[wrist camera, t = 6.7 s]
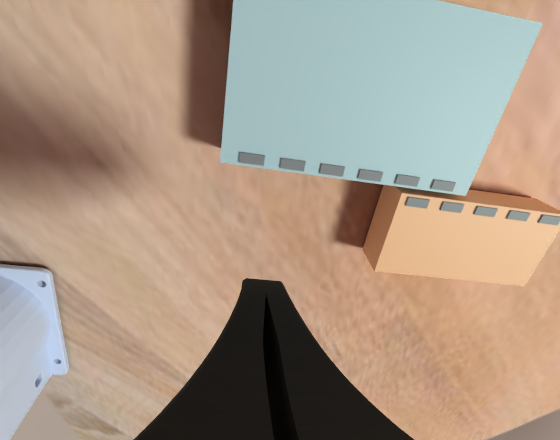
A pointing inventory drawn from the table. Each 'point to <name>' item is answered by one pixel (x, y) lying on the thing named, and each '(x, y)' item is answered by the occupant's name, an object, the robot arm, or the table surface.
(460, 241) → the stub
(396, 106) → the notched pale blue slab
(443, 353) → the table surface
